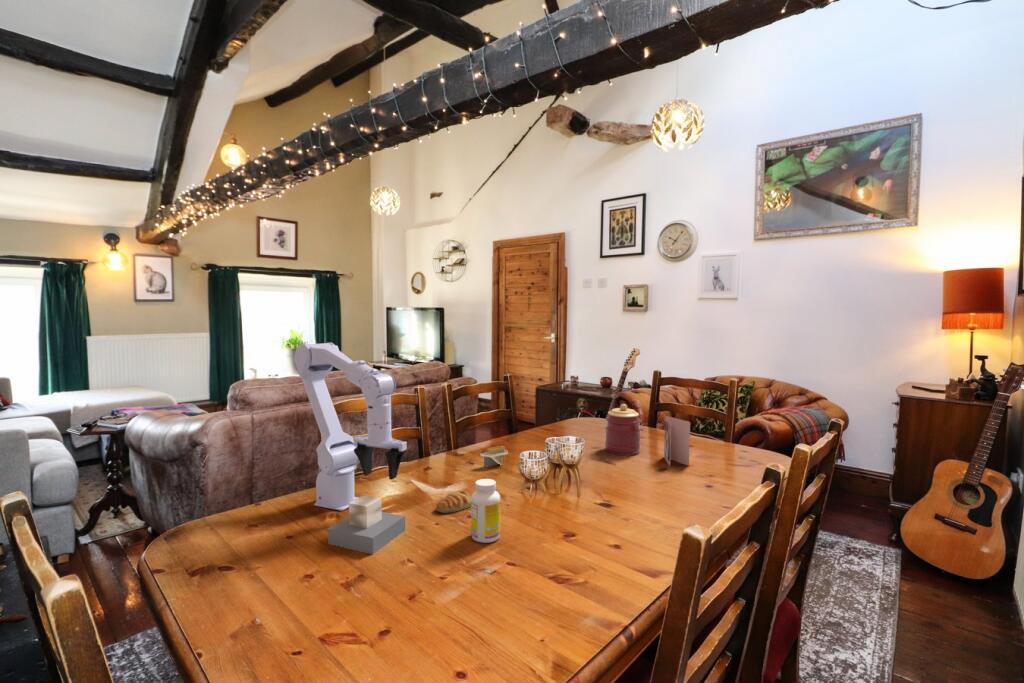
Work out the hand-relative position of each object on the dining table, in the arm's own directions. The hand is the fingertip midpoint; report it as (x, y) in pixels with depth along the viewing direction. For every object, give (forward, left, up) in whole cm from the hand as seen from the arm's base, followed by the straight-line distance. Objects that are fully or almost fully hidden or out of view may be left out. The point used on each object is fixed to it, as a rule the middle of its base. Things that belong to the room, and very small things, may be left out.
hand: (380, 476), depth 120 cm
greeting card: (+67, +75, -11) cm, 101 cm away
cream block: (+4, -10, -7) cm, 13 cm away
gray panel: (+4, -10, -11) cm, 15 cm away
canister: (+48, +82, -11) cm, 96 cm away
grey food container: (+11, +48, -11) cm, 50 cm away
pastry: (+14, +12, -11) cm, 22 cm away
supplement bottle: (+29, 0, -11) cm, 31 cm away
